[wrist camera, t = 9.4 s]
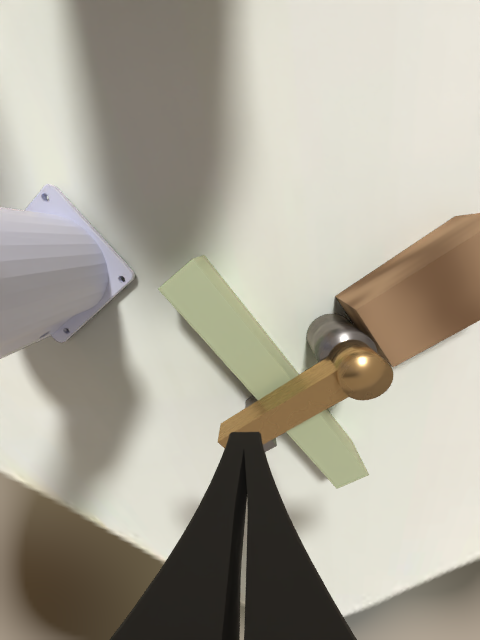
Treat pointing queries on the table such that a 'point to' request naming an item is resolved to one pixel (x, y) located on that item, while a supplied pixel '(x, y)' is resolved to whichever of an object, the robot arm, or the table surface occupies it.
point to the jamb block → (420, 292)
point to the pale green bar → (257, 362)
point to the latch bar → (314, 392)
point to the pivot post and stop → (326, 344)
